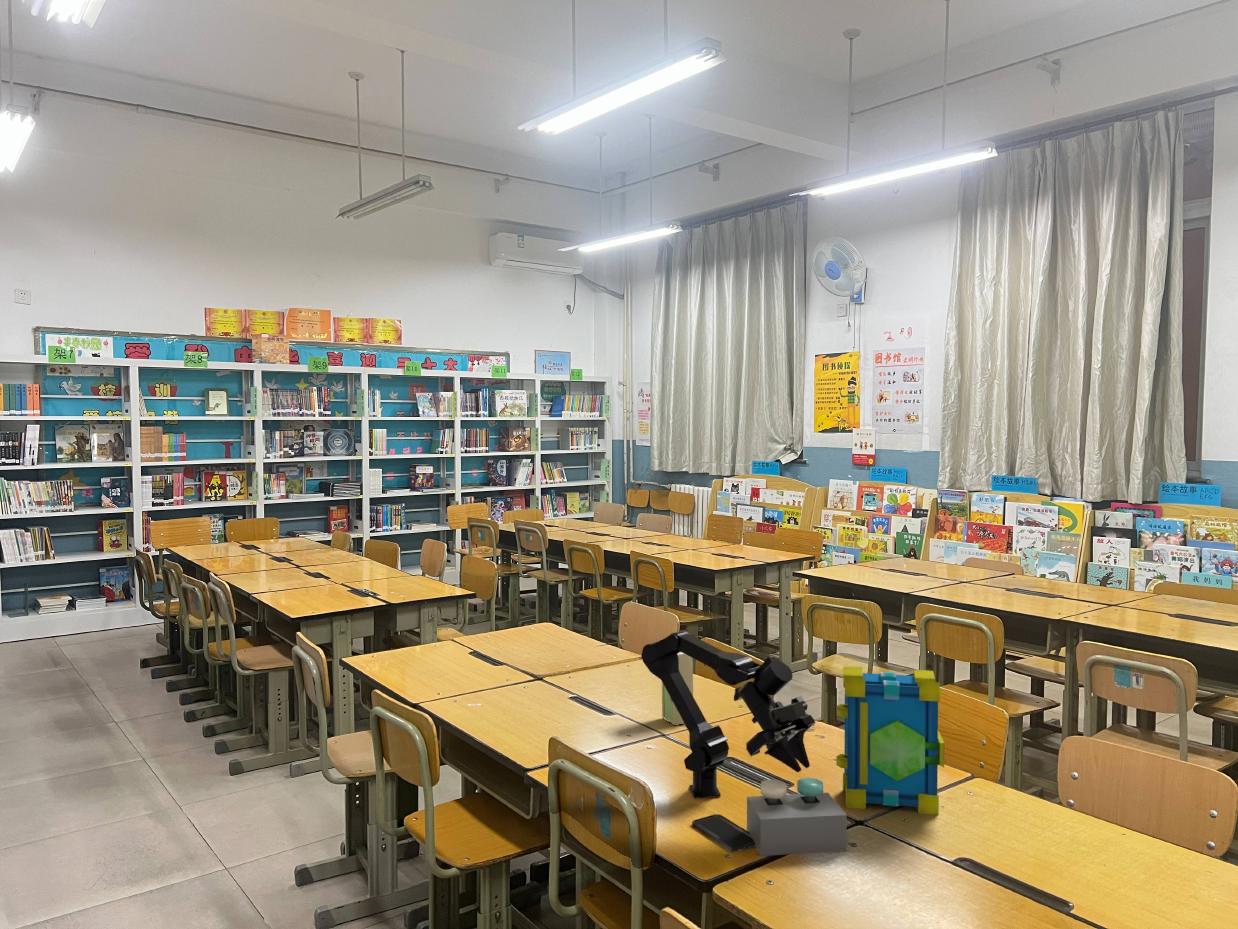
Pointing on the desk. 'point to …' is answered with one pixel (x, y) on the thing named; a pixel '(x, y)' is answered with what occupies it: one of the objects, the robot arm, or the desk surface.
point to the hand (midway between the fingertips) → (804, 769)
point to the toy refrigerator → (667, 704)
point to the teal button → (810, 788)
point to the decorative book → (891, 739)
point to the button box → (796, 825)
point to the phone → (724, 832)
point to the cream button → (773, 790)
